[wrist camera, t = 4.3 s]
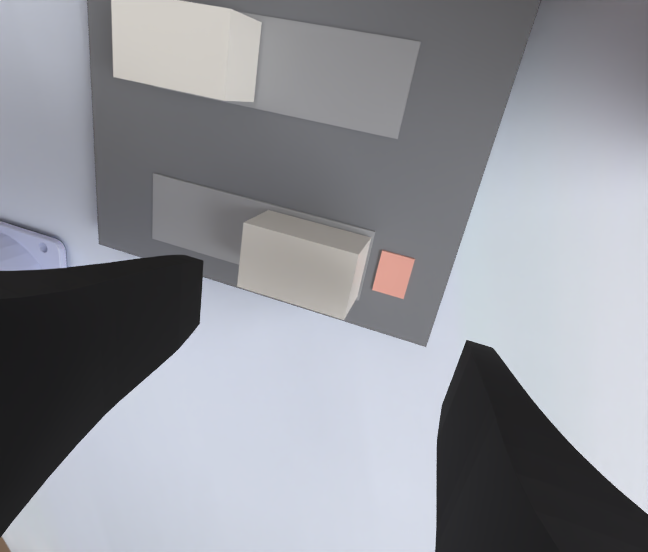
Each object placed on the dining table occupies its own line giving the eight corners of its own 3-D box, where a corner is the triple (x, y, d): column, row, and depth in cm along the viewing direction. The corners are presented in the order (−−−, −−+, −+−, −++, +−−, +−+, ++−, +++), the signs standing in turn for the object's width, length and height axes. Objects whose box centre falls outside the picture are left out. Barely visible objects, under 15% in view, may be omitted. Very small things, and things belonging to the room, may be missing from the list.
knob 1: (154, 81, 15) (113, 77, 13) (154, 4, 14) (110, -12, 12) (253, 102, 14) (224, 100, 13) (261, 22, 13) (230, 8, 12)
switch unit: (118, 237, 20) (97, 244, 19) (104, -271, 13) (69, -307, 12) (428, 332, 17) (425, 348, 16) (624, -264, 10) (644, -312, 9)
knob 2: (261, 267, 17) (236, 286, 15) (268, 210, 16) (243, 222, 14) (357, 296, 16) (343, 320, 14) (371, 237, 15) (358, 254, 13)
